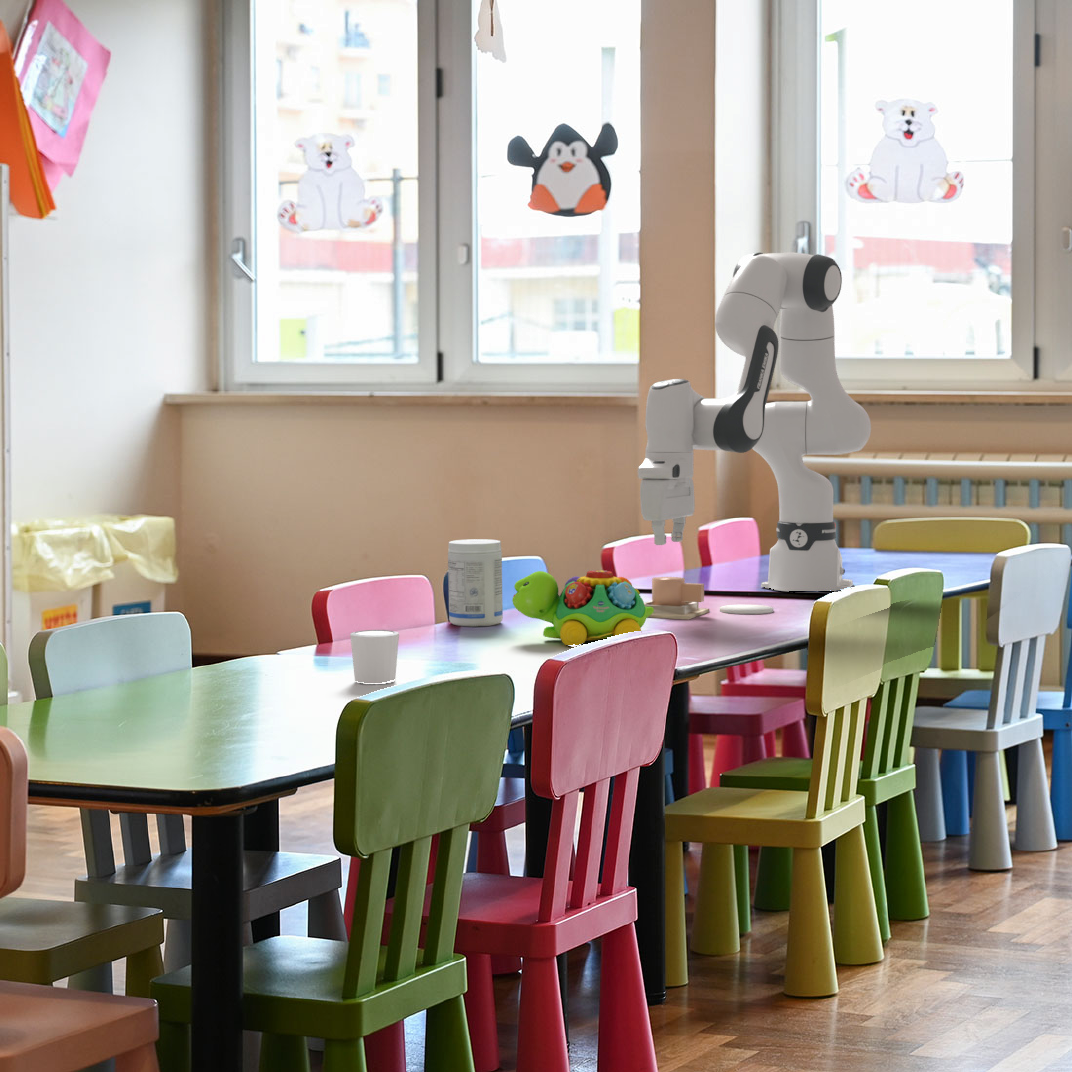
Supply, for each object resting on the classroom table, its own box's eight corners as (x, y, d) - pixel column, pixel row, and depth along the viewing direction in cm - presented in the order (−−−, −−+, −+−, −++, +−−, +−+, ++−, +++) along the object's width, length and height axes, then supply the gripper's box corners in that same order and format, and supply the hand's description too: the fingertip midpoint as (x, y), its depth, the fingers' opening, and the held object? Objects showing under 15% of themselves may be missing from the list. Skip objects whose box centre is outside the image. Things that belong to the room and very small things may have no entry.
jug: (658, 608, 322) (658, 576, 321) (707, 610, 318) (707, 578, 317) (647, 611, 316) (647, 579, 316) (697, 614, 312) (697, 581, 312)
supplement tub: (481, 618, 312) (480, 537, 310) (513, 624, 304) (513, 541, 303) (437, 623, 305) (437, 540, 304) (469, 628, 298) (469, 544, 297)
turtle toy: (512, 634, 291) (512, 565, 290) (649, 634, 292) (650, 565, 291) (512, 649, 274) (512, 576, 273) (657, 649, 275) (658, 575, 274)
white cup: (343, 680, 244) (342, 631, 243) (387, 676, 247) (386, 628, 247) (362, 687, 238) (362, 637, 237) (407, 683, 241) (407, 633, 241)
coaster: (728, 606, 329) (728, 603, 329) (779, 609, 325) (779, 606, 325) (712, 612, 320) (712, 609, 320) (764, 615, 316) (765, 612, 316)
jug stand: (648, 608, 326) (648, 598, 326) (709, 611, 321) (709, 601, 321) (626, 616, 315) (626, 605, 315) (688, 619, 310) (688, 608, 310)
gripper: (671, 466, 326) (670, 539, 327) (634, 469, 308) (633, 546, 308) (703, 466, 324) (702, 540, 325) (667, 469, 305) (667, 547, 306)
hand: (668, 543), depth 316 cm, fingers open, 8 cm apart
